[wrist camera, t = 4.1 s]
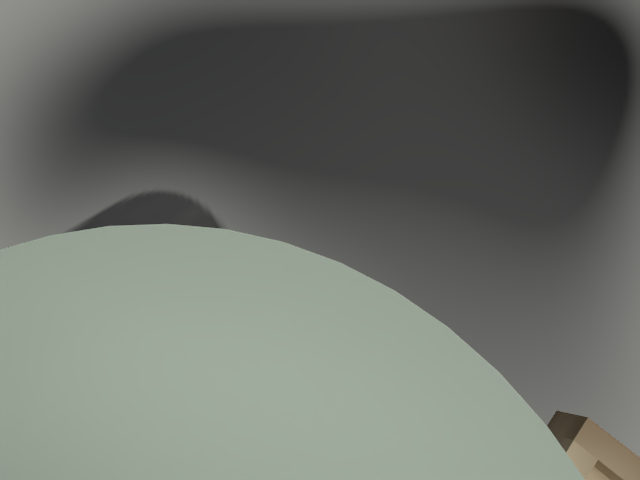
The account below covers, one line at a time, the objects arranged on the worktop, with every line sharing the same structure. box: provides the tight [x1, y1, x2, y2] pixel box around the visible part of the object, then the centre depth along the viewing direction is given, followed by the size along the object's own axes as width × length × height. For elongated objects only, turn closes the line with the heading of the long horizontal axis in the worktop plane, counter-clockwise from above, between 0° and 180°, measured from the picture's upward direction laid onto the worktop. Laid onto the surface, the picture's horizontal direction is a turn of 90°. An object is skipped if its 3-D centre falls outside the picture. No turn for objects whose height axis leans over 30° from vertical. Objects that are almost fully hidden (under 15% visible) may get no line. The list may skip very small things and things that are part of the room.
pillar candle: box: [0, 224, 585, 480], centre depth 8 cm, size 6×6×13 cm
